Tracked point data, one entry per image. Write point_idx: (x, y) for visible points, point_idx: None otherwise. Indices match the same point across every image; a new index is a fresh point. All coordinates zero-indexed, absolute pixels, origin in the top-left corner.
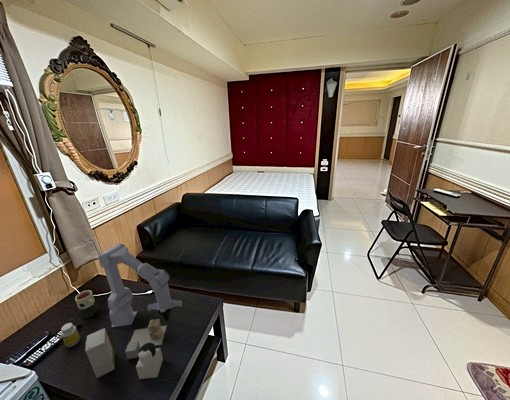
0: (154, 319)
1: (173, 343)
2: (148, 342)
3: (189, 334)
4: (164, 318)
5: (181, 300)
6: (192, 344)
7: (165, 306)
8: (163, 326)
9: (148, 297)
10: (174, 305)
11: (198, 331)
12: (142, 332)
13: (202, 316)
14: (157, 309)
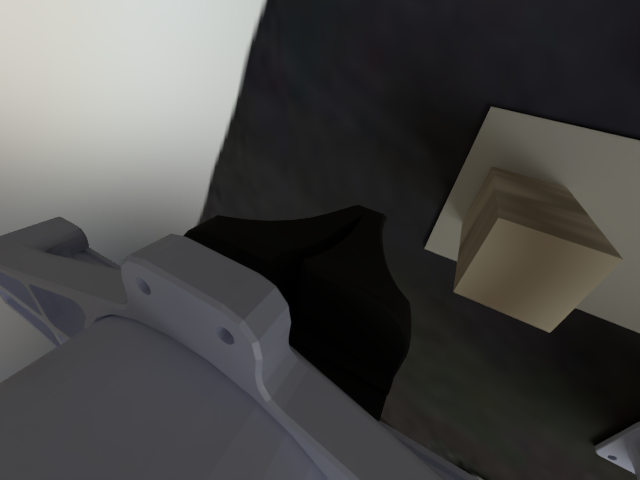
0: (504, 313)
1: (402, 82)
2: (597, 174)
3: (301, 114)
4: (377, 229)
5: (2, 298)
6: (285, 21)
7: (42, 382)
8: (446, 252)
9: (492, 468)
10: (24, 271)
11: (256, 113)
12: (614, 290)
13: (242, 200)
14: (381, 458)
